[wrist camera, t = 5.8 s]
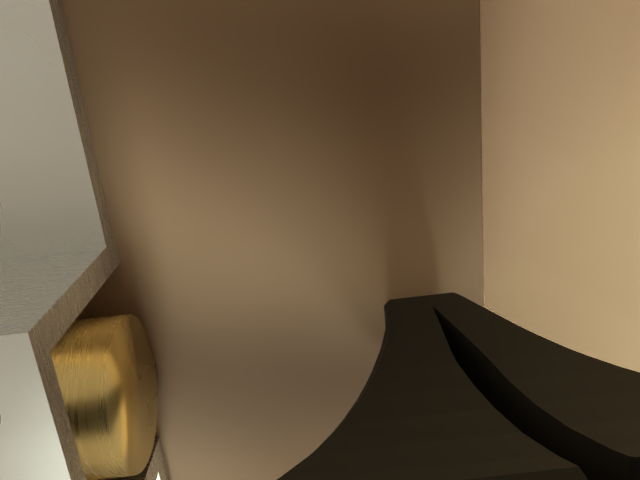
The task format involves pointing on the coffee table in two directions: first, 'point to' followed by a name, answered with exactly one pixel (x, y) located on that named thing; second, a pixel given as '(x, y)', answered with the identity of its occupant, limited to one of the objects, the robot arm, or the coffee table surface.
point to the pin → (109, 393)
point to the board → (278, 201)
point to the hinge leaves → (45, 240)
